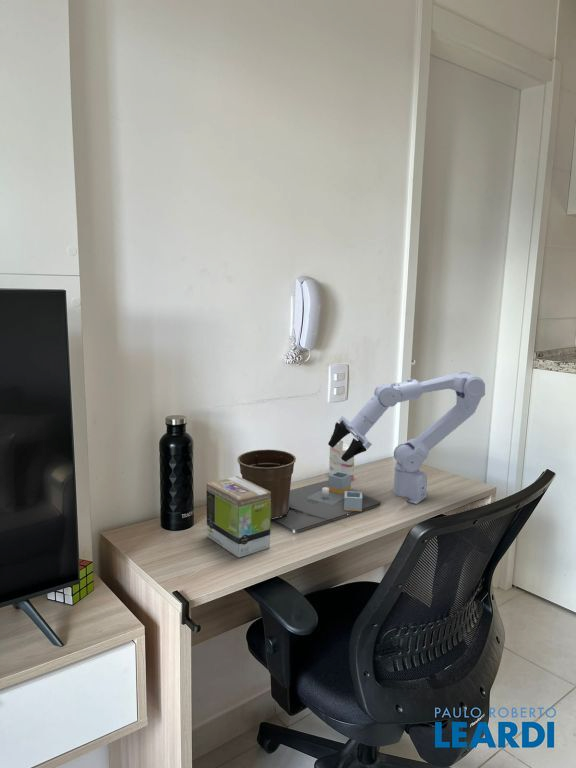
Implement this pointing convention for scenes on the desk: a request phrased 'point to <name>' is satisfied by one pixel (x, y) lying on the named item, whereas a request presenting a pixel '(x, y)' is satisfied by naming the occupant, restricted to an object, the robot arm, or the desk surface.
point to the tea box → (238, 515)
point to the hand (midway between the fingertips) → (336, 452)
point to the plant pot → (270, 475)
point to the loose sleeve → (353, 501)
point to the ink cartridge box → (340, 460)
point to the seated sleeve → (339, 482)
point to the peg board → (331, 494)
